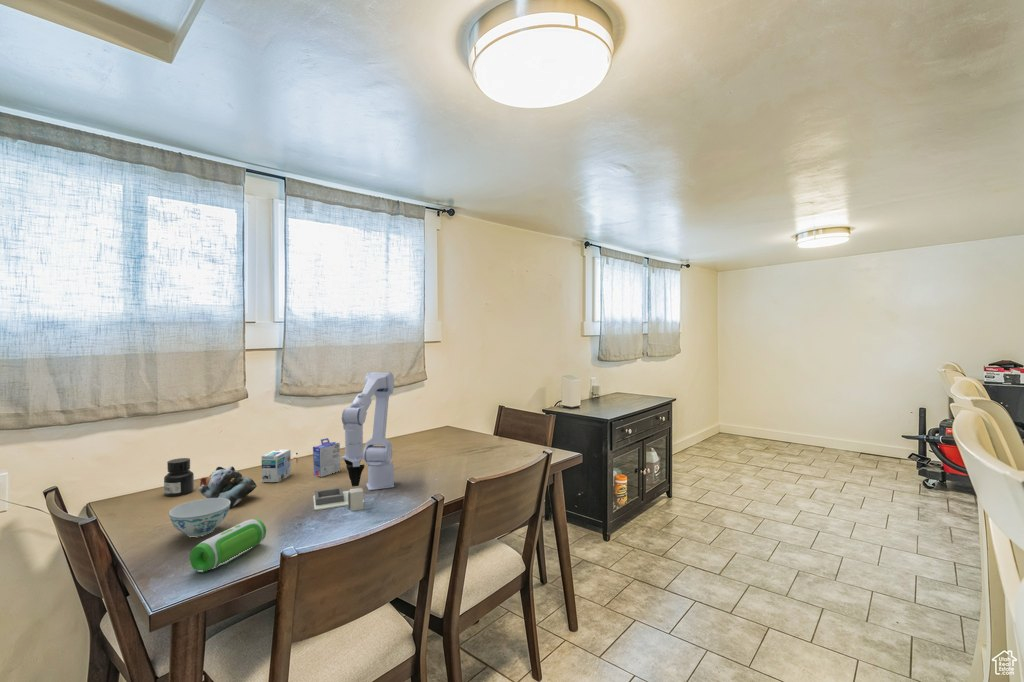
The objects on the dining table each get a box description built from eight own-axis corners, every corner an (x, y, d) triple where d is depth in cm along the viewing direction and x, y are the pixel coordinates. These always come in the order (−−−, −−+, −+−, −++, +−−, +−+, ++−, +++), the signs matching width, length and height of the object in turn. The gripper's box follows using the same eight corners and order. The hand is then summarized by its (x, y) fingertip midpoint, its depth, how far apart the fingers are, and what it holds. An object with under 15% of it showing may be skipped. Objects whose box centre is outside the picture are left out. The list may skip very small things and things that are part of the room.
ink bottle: (158, 494, 167) (158, 461, 167) (185, 487, 175) (184, 456, 175) (172, 498, 162) (172, 465, 162) (199, 491, 170) (199, 459, 170)
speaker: (247, 541, 129) (247, 515, 129) (268, 544, 127) (267, 518, 127) (188, 572, 112) (187, 542, 112) (211, 577, 110) (210, 546, 110)
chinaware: (162, 548, 125) (161, 520, 125) (177, 527, 139) (177, 502, 138) (225, 538, 131) (225, 512, 131) (234, 519, 145) (234, 495, 144)
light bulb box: (277, 483, 179) (277, 456, 179) (260, 483, 180) (260, 455, 179) (291, 474, 190) (291, 449, 190) (275, 474, 190) (275, 449, 190)
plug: (361, 504, 157) (361, 487, 157) (363, 508, 153) (363, 491, 153) (347, 506, 155) (347, 489, 155) (348, 511, 151) (348, 493, 151)
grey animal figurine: (227, 511, 150) (203, 476, 149) (208, 519, 155) (185, 485, 154) (264, 485, 163) (243, 452, 162) (246, 493, 169) (225, 461, 167)
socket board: (359, 490, 171) (359, 483, 171) (364, 503, 158) (364, 496, 158) (313, 497, 164) (313, 490, 164) (314, 510, 151) (314, 503, 151)
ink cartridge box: (333, 469, 198) (332, 436, 197) (341, 471, 195) (341, 437, 194) (312, 475, 189) (312, 440, 189) (320, 477, 186) (320, 442, 186)
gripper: (339, 439, 159) (340, 477, 159) (343, 448, 146) (343, 490, 146) (361, 437, 162) (361, 475, 162) (366, 446, 149) (366, 487, 149)
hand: (354, 482), depth 154 cm, fingers open, 7 cm apart
